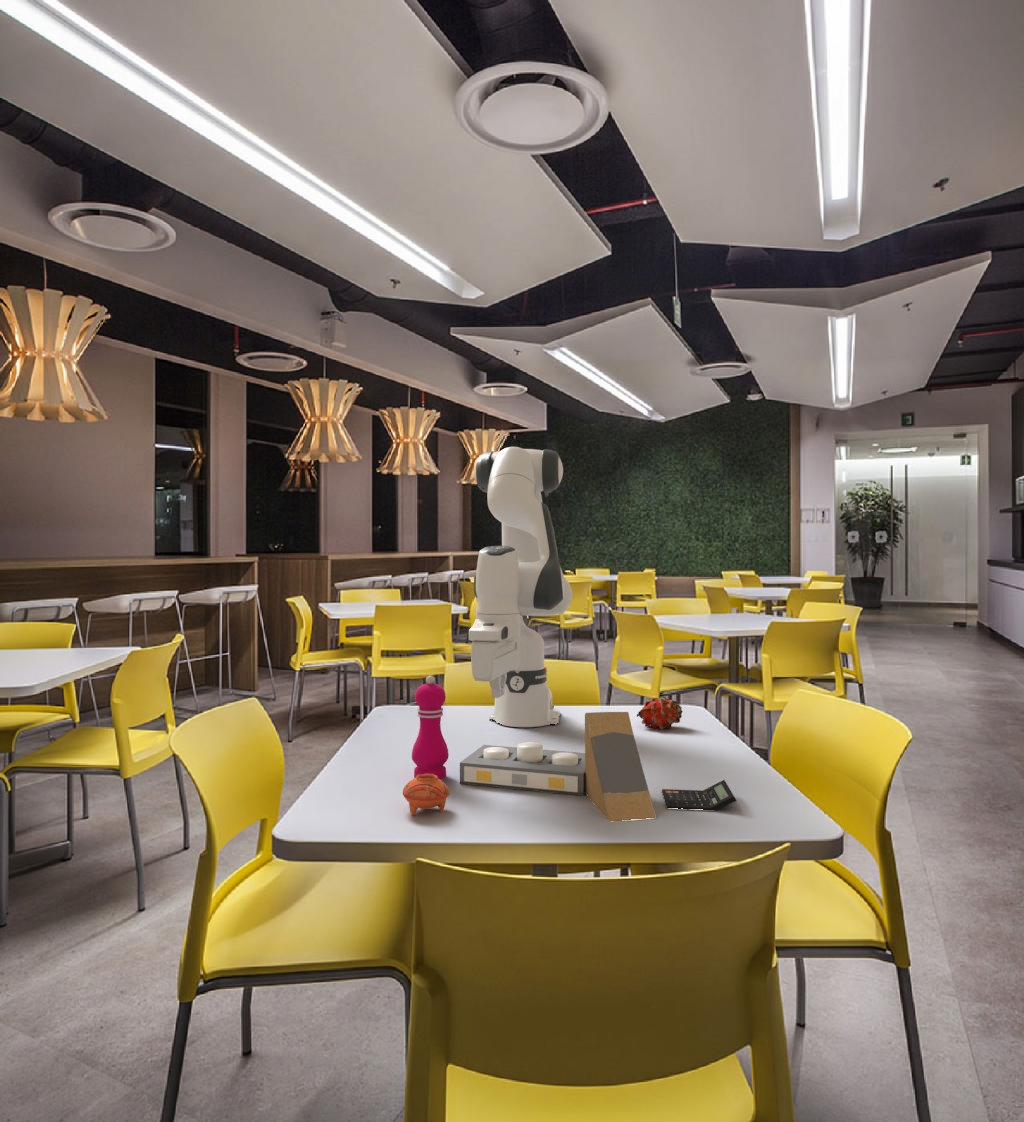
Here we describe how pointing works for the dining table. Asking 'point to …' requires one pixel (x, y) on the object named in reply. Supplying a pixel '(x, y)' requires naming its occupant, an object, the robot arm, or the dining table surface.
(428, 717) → the pepper mill
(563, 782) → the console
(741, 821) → the dining table surface
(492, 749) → the ball
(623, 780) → the sandwich container
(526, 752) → the button middle
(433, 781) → the pot
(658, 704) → the dragon fruit
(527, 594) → the robot arm
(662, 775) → the dining table surface
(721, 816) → the dining table surface
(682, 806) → the calculator
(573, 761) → the button container side
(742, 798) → the dining table surface
